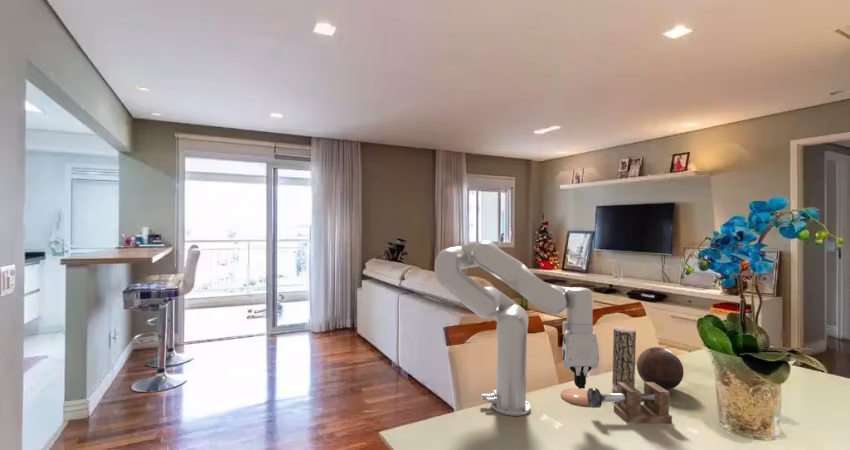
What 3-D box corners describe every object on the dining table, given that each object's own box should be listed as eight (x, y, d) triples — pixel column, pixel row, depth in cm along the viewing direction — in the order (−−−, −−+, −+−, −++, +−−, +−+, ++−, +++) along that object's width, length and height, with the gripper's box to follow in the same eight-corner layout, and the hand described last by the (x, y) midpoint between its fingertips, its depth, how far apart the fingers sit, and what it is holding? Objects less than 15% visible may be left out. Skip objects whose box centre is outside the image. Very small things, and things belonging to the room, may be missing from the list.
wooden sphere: (693, 396, 146) (694, 354, 146) (655, 398, 144) (656, 355, 144) (662, 380, 161) (663, 341, 161) (627, 381, 158) (628, 342, 158)
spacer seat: (569, 405, 136) (569, 402, 136) (555, 390, 148) (555, 388, 148) (604, 405, 136) (604, 402, 136) (588, 390, 148) (588, 388, 148)
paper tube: (636, 407, 136) (638, 331, 136) (614, 404, 137) (616, 330, 137) (630, 398, 143) (632, 326, 142) (609, 396, 144) (611, 325, 144)
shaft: (595, 411, 125) (595, 392, 125) (587, 402, 131) (587, 385, 131) (660, 410, 126) (660, 392, 126) (649, 402, 132) (649, 385, 132)
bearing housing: (627, 423, 125) (628, 392, 125) (613, 411, 133) (614, 382, 132) (671, 422, 125) (672, 392, 125) (655, 410, 133) (656, 381, 133)
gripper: (560, 331, 123) (561, 392, 123) (609, 330, 124) (609, 391, 124) (551, 325, 131) (552, 383, 131) (597, 324, 132) (597, 381, 132)
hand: (580, 386), depth 127 cm, fingers closed
